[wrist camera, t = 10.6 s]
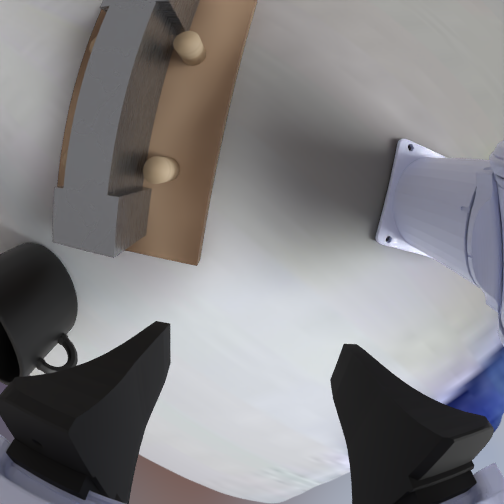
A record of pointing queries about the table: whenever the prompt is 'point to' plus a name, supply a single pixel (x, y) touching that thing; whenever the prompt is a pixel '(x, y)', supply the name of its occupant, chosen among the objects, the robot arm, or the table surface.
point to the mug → (34, 311)
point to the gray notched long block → (117, 126)
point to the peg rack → (185, 127)
